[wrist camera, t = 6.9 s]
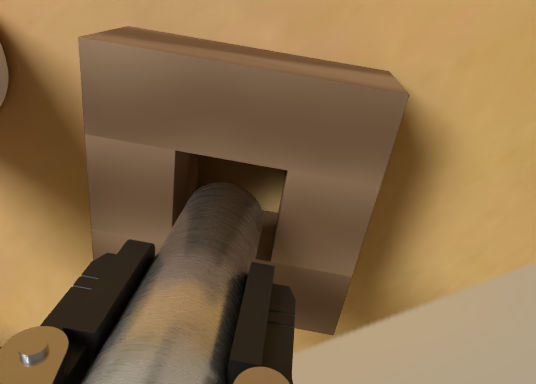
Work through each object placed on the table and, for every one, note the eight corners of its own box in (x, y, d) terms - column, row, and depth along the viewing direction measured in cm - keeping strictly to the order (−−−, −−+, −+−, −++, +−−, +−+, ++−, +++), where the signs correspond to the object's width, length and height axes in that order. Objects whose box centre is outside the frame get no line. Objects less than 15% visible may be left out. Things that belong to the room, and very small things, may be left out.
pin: (177, 163, 15) (-193, 643, 4) (281, 182, 14) (192, 724, 4) (173, 248, 16) (-90, 740, 6) (265, 265, 16) (175, 796, 6)
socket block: (127, 26, 17) (78, 37, 13) (388, 71, 17) (409, 94, 13) (130, 241, 22) (95, 290, 18) (330, 278, 22) (333, 335, 18)
